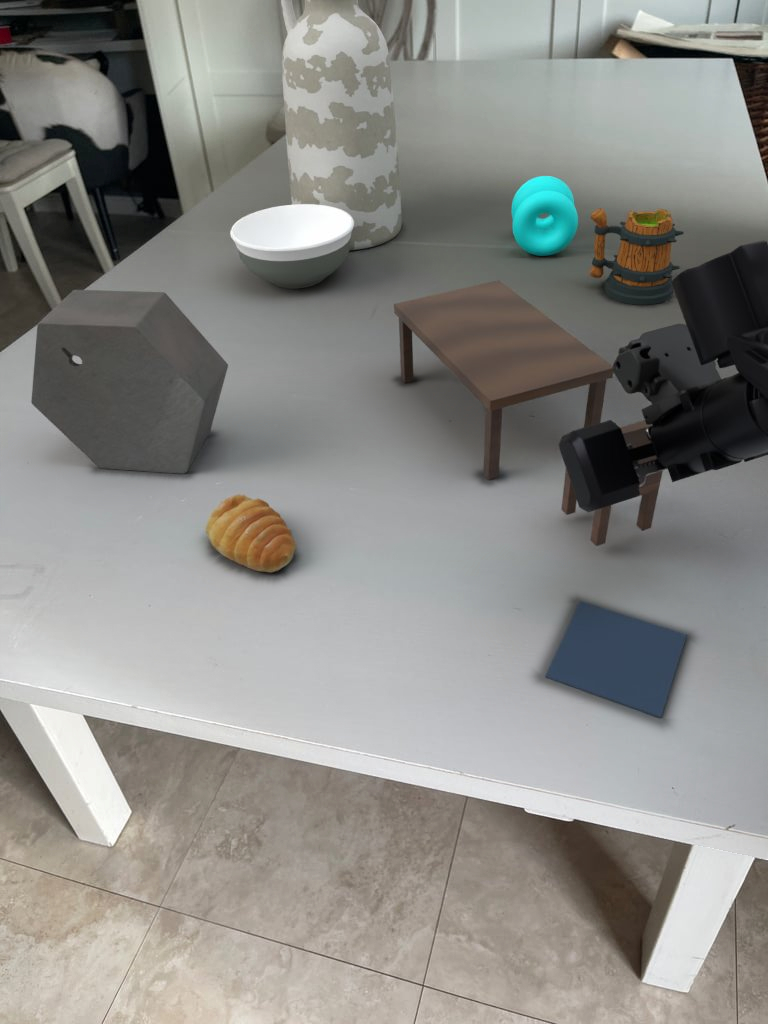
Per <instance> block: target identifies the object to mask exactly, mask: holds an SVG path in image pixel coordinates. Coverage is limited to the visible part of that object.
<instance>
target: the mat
mask: <svg viewBox="0 0 768 1024" xmlns="http://www.w3.org/2000/svg"><path fill="white" fill-rule="evenodd" d="M687 636H688V635H687V634H685V633H683V632H680V631H677V630H673V629H671V628H670V629H669V628H667V627H663V626H660V625H657V624H655V623H654V624H653V623H650V622H648V621H644V620H641V619H639V618H635V617H631V616H628V615H625V614H622V613H619V612H615V611H613V610H610V609H606V608H603V607H599V606H597V605H593V604H590V603H587V602H583V601H579V603H578V605H577V607H576V609H575V611H574V613H573V615H572V618H571V620H570V622H569V624H568V626H567V628H566V630H565V633H564V635H563V637H562V639H561V641H560V643H559V646H558V648H557V650H556V652H555V654H554V656H553V659H552V661H551V663H550V665H549V667H548V669H547V671H546V673H545V678H547V679H550V680H553V681H556V682H559V683H561V684H564V685H567V686H569V687H572V688H575V689H578V690H581V691H583V692H585V693H589V694H592V695H595V696H598V697H601V698H603V699H605V700H609V701H612V702H614V703H617V704H620V705H623V706H625V707H628V708H631V709H634V710H637V711H639V712H642V713H645V714H647V715H651V716H653V717H656V718H659V719H661V718H662V715H663V713H664V709H665V706H666V703H667V699H668V696H669V693H670V690H671V687H672V684H673V680H674V677H675V675H676V672H677V668H678V665H679V661H680V658H681V656H682V655H681V654H682V652H683V648H684V646H685V641H686V639H687Z"/></svg>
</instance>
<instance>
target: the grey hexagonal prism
mask: <svg viewBox="0 0 768 1024" xmlns="http://www.w3.org/2000/svg"><path fill="white" fill-rule="evenodd" d="M74 356H75V357H78V358H80V360H81V363H78V362H75V361H74V360H73V357H74ZM33 362H34V363H33V375H32V390H31V400H30V401H31V405H33V407H34V408H36V410H37V411H39V412H40V413H41V414H42V415H43V416H44V417H45V418H46V419H47V420H48V421H49V422H50V423H51V424H52V425H53V426H54V427H55V428H56V429H58V431H60V432H61V433H62V434H63V435H64V436H65V437H66V438H67V439H68V440H69V441H70V442H71V443H72V444H73V445H74V446H75V447H76V448H77V449H78V450H80V451H81V453H83V454H84V455H85V456H86V457H87V458H88V459H89V460H90V461H91V462H92V463H93V464H94V465H95V466H96V467H97V468H99V469H107V470H119V471H135V472H150V473H151V472H152V473H164V474H165V473H166V474H167V473H168V474H181V475H183V474H185V473H187V472H188V471H189V469H190V467H191V466H192V464H193V462H194V460H195V459H196V457H197V456H198V454H199V452H200V450H201V448H202V447H203V445H204V443H205V442H206V440H207V438H208V436H209V435H210V434H211V429H212V427H213V422H214V419H215V416H216V413H217V412H216V411H217V408H218V404H219V400H220V397H221V394H222V390H223V387H224V382H225V379H226V375H227V371H228V368H229V364H228V363H227V362H226V360H225V359H224V358H223V356H221V354H220V353H219V352H218V351H217V350H216V349H215V347H214V346H213V345H212V344H211V343H210V342H209V340H208V339H206V337H205V336H204V335H203V334H202V333H201V332H200V330H199V329H198V328H197V327H196V326H195V325H194V323H193V322H192V321H191V320H190V319H189V318H188V317H187V316H186V315H185V313H184V312H183V310H181V308H179V307H178V305H177V304H176V303H175V302H174V301H173V300H172V298H170V296H169V295H168V294H167V292H165V291H164V292H163V291H136V290H135V291H134V290H99V289H98V290H97V289H72V291H71V292H70V293H69V294H68V295H67V296H65V297H64V298H63V299H62V301H60V302H59V303H58V304H57V305H55V307H53V308H52V310H51V311H49V312H48V313H47V314H46V316H44V317H43V318H42V319H41V320H40V321H39V322H38V323H37V327H36V338H35V351H34V361H33Z"/></svg>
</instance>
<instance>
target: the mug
mask: <svg viewBox="0 0 768 1024" xmlns="http://www.w3.org/2000/svg"><path fill="white" fill-rule="evenodd" d="M607 216H608V215H607V213H606V211H605V210H604V209H603V208H601V207H599V208H596V209H595V210H594V211H593V212H592V213H591V214H590V219H591V220H592V221H593V222H594V223H595V224H596V225H595V226H594V233H595V238H594V245H593V248H594V249H593V251H594V257H593V258H592V261H591V264H592V266H591V268H590V269H589V271H588V273H589V275H590V277H591V278H595V279H599V278H600V279H601V278H602V277H603V275H604V267H606V268H608V269H611V272H610V273H609V275H608V277H607V279H606V280H605V282H604V289H603V290H604V291H605V294H606V295H607V296H608V297H610V298H612V299H613V300H614V301H617V302H621V303H624V304H630V305H636V306H643V305H644V306H645V305H656V304H660V303H664V302H665V301H667V300H669V299H671V298H672V296H673V293H674V289H673V287H672V281H673V275H672V273H673V271H676V270H679V269H680V266H679V265H674V264H673V263H672V261H671V258H672V257H671V255H672V254H671V253H672V243H676V242H677V241H678V239H676V237H678V236H681V235H684V231H681V230H676V228H675V227H674V226H676V224H675V223H674V220H673V218H672V214H671V213H670V211H668V210H667V209H663V208H658V209H657V210H656V211H637V212H636V211H634V210H629V213H628V214H627V217H626V221H621V222H620V225H622V226H619V225H610V226H609V225H608V218H607ZM607 234H616V235H619V240H620V244H619V249H618V252H617V254H613V258H614V260H608V259H606V257H605V247H606V235H607Z"/></svg>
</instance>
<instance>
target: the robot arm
mask: <svg viewBox="0 0 768 1024" xmlns="http://www.w3.org/2000/svg"><path fill="white" fill-rule="evenodd" d="M672 287H673V293H674V294H675V297H676V300H677V303H678V305H679V309H680V311H681V313H682V317H683V319H684V322H685V323H677V324H676V323H675V324H672V325H668V326H665V327H664V326H663V327H661V328H656V329H653V330H649V331H646V332H645V331H644V332H643V333H642V334H641V335H640V337H639V338H636V339H632V340H630V341H629V342H628V344H627V345H625V346H621V347H619V349H618V355H617V356H616V358H615V360H614V362H613V364H612V366H613V375H615V377H616V379H617V380H618V383H619V384H620V385H621V387H622V388H623V390H624V392H625V393H627V394H628V395H632V394H635V393H640V394H642V395H643V396H644V398H645V399H646V400H647V401H648V402H650V403H651V404H649V405H648V406H646V407H644V408H642V409H641V413H642V416H643V418H644V419H643V420H645V422H646V424H647V425H650V424H652V425H653V426H651V427H648V428H647V429H646V430H645V432H646V435H647V438H648V439H649V441H650V440H651V443H649V444H646V445H642V446H639V447H636V448H633V446H632V444H629V445H626V442H625V439H624V436H623V433H622V430H621V428H620V427H621V426H619V425H618V424H617V423H616V422H614V421H613V420H612V419H609V420H606V421H602V422H600V423H598V424H595V425H591V426H588V427H584V426H583V427H581V428H579V429H575V430H571V431H570V432H568V433H566V434H564V435H562V436H561V438H560V440H559V444H558V448H559V451H560V455H561V457H562V460H563V463H564V466H565V470H566V469H567V472H568V475H569V478H570V481H571V484H572V487H573V490H574V493H575V496H576V499H577V502H576V503H577V504H578V508H579V509H581V510H583V511H585V512H587V513H591V512H595V510H597V509H601V508H604V507H607V506H610V505H611V506H613V505H616V504H620V503H623V502H625V501H628V500H633V499H635V498H638V497H639V496H638V495H640V492H639V487H641V486H643V485H644V483H645V481H646V476H647V475H650V474H653V473H656V472H659V471H666V470H667V472H668V474H669V478H670V480H671V482H672V483H674V482H679V481H681V480H684V479H687V478H691V477H693V476H697V475H700V474H702V473H706V472H709V471H718V470H721V469H725V468H728V467H731V466H733V465H738V464H740V463H741V462H742V461H744V463H746V462H750V461H754V460H756V459H759V458H763V457H765V456H768V241H767V240H765V239H761V240H757V241H753V242H750V243H745V244H740V245H739V246H738V247H736V248H735V249H733V250H732V251H730V252H728V253H725V254H723V255H720V256H717V257H716V258H713V259H711V260H708V261H706V262H704V263H701V264H699V265H698V266H695V267H691V268H687V269H684V270H683V271H682V272H680V273H679V274H677V275H676V276H675V277H674V278H672ZM717 366H718V368H719V369H725V368H729V367H732V366H735V370H736V371H737V373H735V374H733V375H730V376H726V377H724V378H722V377H721V375H720V372H719V371H718V369H717ZM653 456H656V457H657V459H655V460H651V461H648V462H647V463H646V462H644V463H641V464H638V461H640V460H644V459H647V458H650V457H653ZM635 468H637V469H635ZM637 496H638V497H637Z"/></svg>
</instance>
